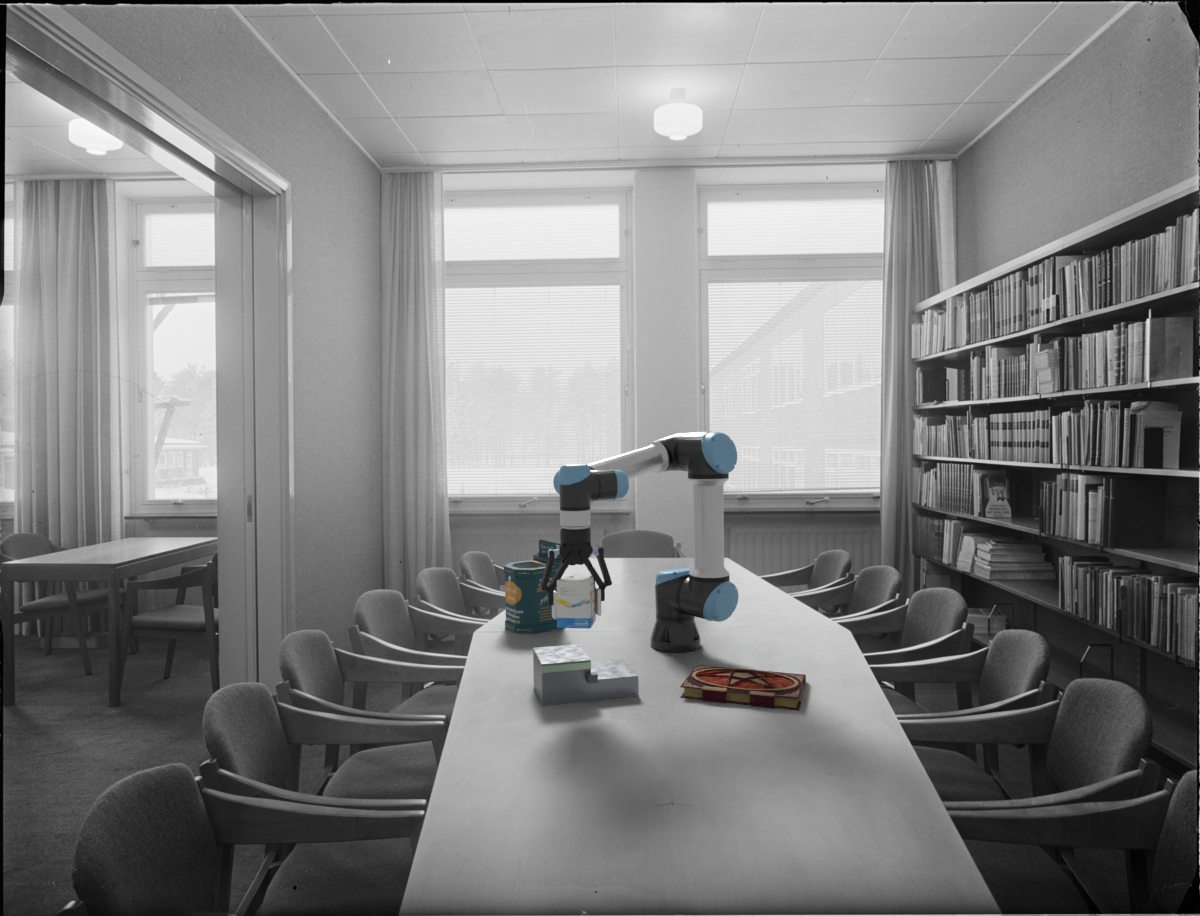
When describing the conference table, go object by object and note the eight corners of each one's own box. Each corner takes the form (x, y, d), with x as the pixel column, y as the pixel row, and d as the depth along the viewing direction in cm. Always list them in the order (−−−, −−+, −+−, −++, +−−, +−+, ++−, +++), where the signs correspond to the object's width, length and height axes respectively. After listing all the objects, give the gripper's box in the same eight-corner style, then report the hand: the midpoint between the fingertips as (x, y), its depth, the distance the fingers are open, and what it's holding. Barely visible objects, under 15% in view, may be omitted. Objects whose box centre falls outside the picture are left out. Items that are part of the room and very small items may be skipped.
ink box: (590, 629, 179) (589, 580, 179) (556, 628, 181) (555, 580, 180) (596, 620, 188) (595, 573, 187) (563, 619, 189) (562, 573, 189)
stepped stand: (623, 677, 198) (623, 640, 198) (641, 698, 182) (640, 658, 182) (533, 686, 192) (533, 647, 192) (543, 708, 177) (543, 667, 176)
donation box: (564, 627, 248) (563, 544, 247) (521, 636, 239) (520, 549, 238) (540, 618, 262) (539, 538, 261) (499, 625, 253) (497, 543, 252)
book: (805, 686, 193) (805, 667, 192) (799, 714, 173) (799, 692, 173) (697, 676, 202) (697, 657, 202) (679, 701, 182) (679, 680, 182)
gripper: (615, 522, 190) (616, 609, 191) (526, 527, 184) (528, 616, 185) (624, 526, 183) (625, 616, 184) (531, 531, 177) (533, 623, 178)
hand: (576, 616), depth 184 cm, fingers closed on ink box, 10 cm apart
